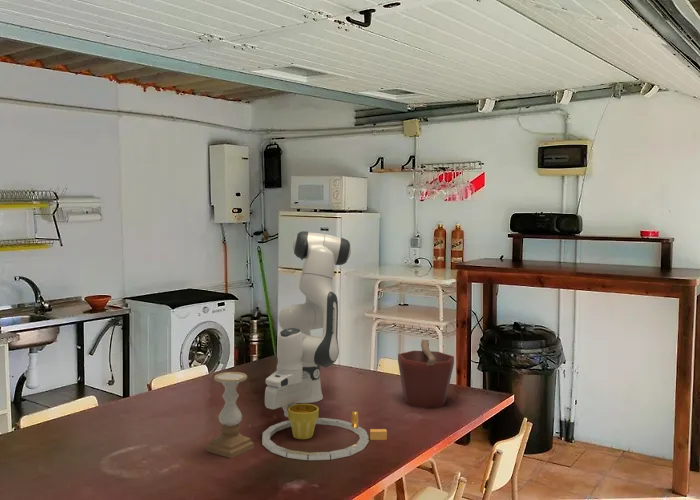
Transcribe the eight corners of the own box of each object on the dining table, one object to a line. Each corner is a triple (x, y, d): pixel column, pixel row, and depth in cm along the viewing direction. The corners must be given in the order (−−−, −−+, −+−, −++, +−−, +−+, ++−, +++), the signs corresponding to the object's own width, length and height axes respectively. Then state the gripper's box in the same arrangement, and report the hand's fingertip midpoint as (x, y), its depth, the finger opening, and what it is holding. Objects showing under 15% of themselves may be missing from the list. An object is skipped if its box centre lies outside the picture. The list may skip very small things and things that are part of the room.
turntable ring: (240, 441, 206) (240, 422, 206) (310, 415, 234) (310, 398, 233) (321, 469, 185) (321, 448, 184) (388, 437, 212) (388, 418, 212)
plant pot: (313, 443, 207) (314, 414, 206) (283, 440, 209) (284, 411, 208) (321, 432, 217) (322, 404, 216) (292, 429, 219) (293, 402, 218)
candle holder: (231, 459, 192) (231, 382, 191) (205, 451, 198) (205, 376, 196) (254, 448, 201) (255, 374, 200) (229, 441, 207) (229, 369, 206)
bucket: (445, 414, 239) (446, 349, 238) (389, 407, 246) (390, 344, 245) (455, 396, 262) (457, 337, 261) (404, 390, 269) (405, 333, 268)
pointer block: (370, 440, 210) (370, 431, 210) (369, 437, 212) (369, 429, 212) (386, 440, 210) (387, 431, 210) (385, 437, 213) (386, 429, 212)
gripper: (303, 369, 225) (302, 406, 226) (261, 380, 209) (261, 421, 210) (316, 372, 222) (315, 410, 222) (275, 383, 206) (274, 425, 206)
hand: (289, 415), depth 216 cm, fingers closed
